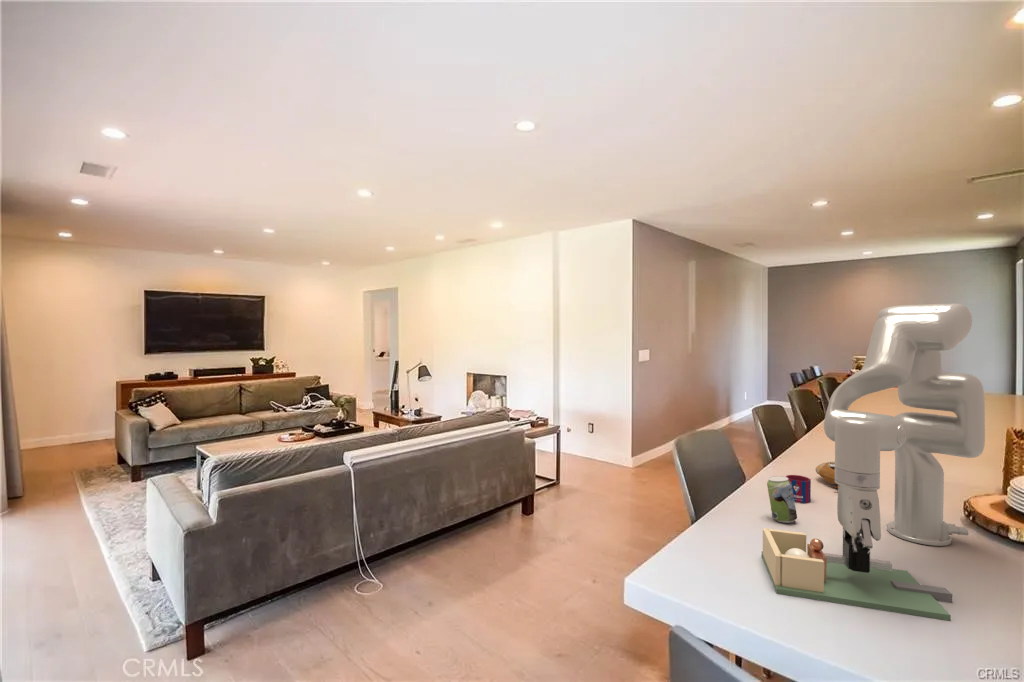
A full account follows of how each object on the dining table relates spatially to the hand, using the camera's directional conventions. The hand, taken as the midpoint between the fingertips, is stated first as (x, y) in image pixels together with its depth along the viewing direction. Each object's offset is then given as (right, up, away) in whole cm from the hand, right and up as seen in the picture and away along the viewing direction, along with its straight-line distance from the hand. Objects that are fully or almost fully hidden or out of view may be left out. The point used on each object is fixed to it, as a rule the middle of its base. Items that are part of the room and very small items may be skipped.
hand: (855, 565), depth 98 cm
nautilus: (+40, -4, +63) cm, 74 cm away
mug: (+20, -4, +52) cm, 56 cm away
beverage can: (+4, -4, +34) cm, 35 cm away
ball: (-10, -1, +3) cm, 11 cm away
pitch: (0, -4, 0) cm, 4 cm away
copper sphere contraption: (-1, -3, 0) cm, 3 cm away
